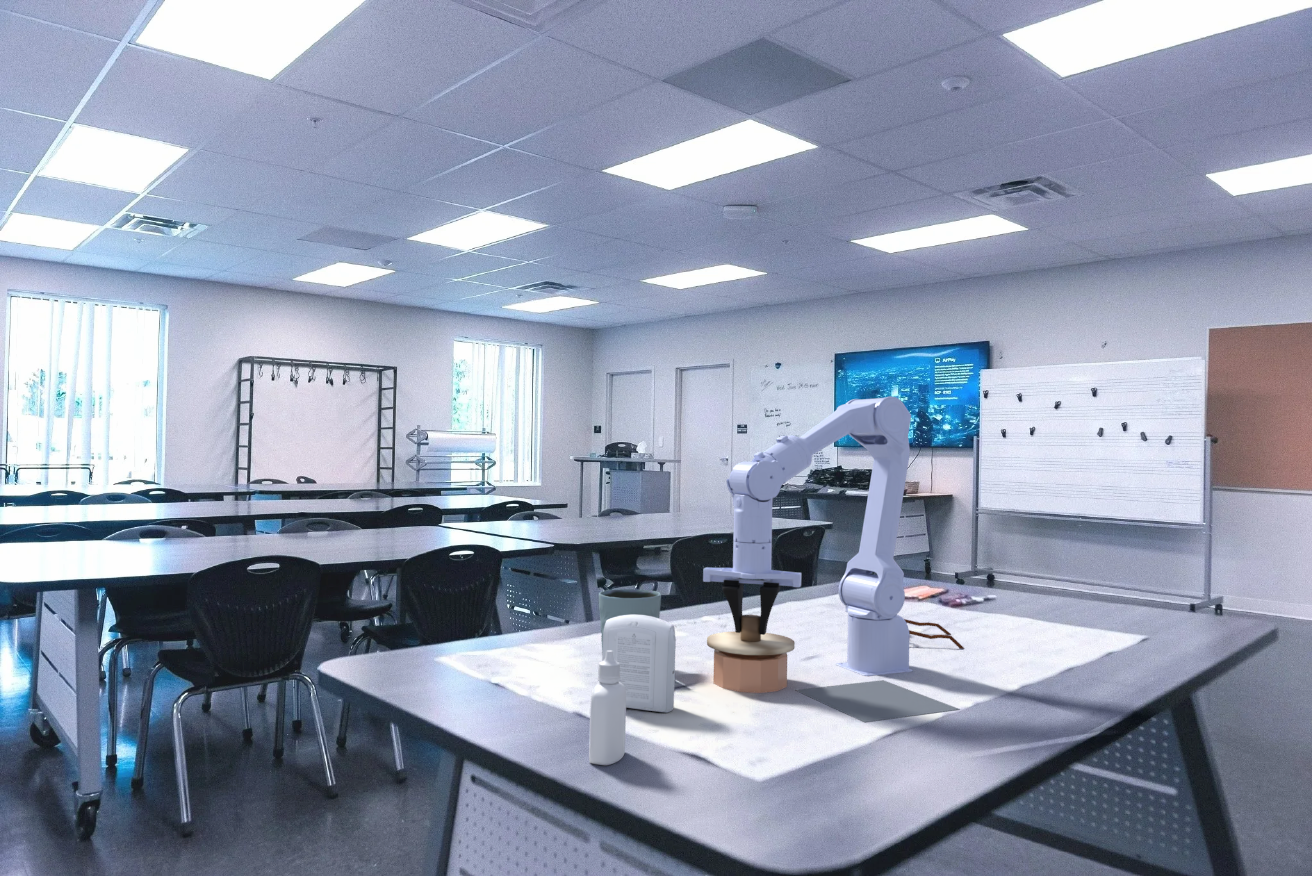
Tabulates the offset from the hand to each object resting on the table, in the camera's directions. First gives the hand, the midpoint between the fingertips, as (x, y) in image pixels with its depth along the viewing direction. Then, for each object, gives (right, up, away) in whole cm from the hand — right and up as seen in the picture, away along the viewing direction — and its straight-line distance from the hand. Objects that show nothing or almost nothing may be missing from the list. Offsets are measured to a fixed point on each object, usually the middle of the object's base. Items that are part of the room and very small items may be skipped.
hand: (750, 632), depth 130 cm
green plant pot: (-19, -8, +9) cm, 22 cm away
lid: (0, -2, 0) cm, 2 cm away
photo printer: (-17, -8, -12) cm, 22 cm away
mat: (+17, -8, -8) cm, 20 cm away
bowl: (0, -8, 0) cm, 8 cm away
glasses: (+37, -10, +36) cm, 52 cm away
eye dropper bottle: (-20, -7, -32) cm, 38 cm away
